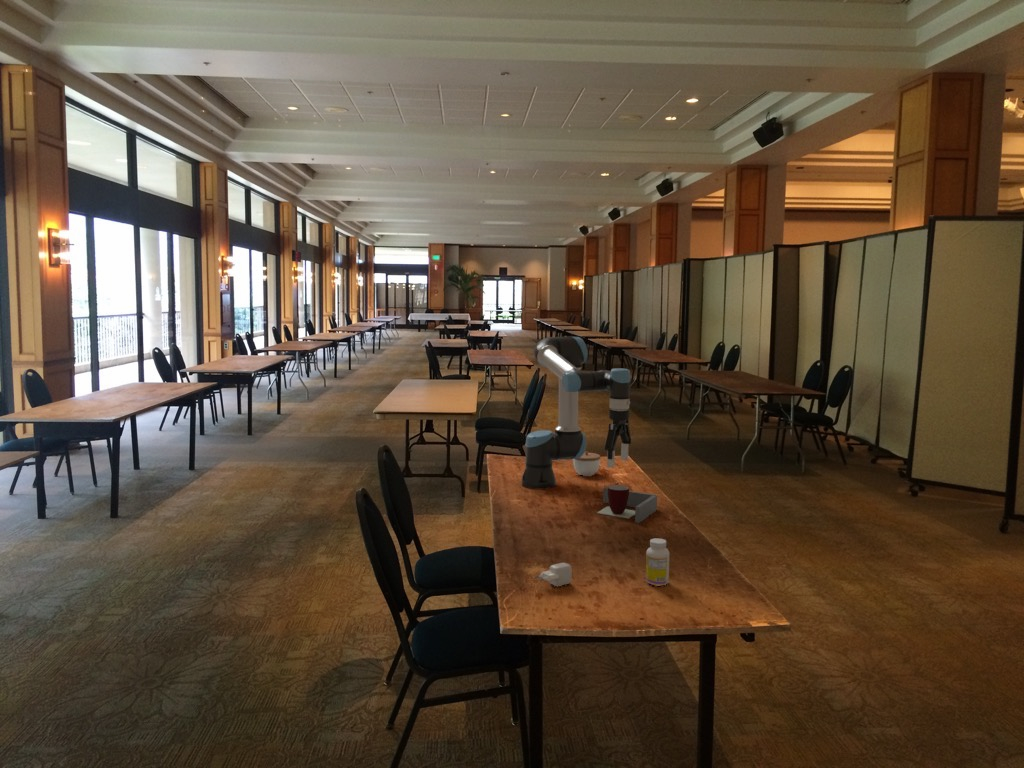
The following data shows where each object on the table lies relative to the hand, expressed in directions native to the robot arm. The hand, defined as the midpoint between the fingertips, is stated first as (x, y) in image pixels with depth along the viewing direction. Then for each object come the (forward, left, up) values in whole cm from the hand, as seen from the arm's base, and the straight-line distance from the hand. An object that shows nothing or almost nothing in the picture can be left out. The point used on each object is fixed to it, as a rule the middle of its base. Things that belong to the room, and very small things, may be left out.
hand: (617, 463), depth 292 cm
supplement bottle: (+38, -61, -19) cm, 75 cm away
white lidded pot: (-35, +48, -19) cm, 62 cm away
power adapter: (+13, -79, -19) cm, 83 cm away
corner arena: (+2, 0, -19) cm, 19 cm away
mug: (+1, -2, -19) cm, 19 cm away
